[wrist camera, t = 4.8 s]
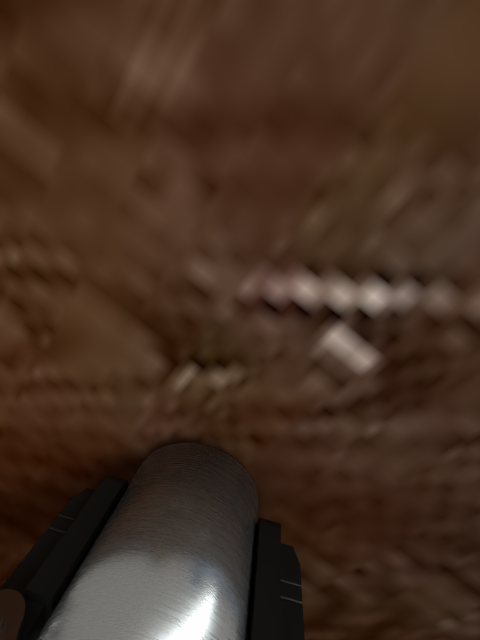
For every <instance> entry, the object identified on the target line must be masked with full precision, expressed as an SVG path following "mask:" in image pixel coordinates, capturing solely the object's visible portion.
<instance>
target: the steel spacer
mask: <svg viewBox="0 0 480 640" xmlns="http://www.w3.org/2000/svg"><path fill="white" fill-rule="evenodd" d="M257 517H258V493H257V490H256V486H255V484H254V482H253V480H252V478H251V477H250V475H249V473H248V472H247V471H246V470H245V469H244V467H243V466H242V465H241V464H240V463H239V462H237V461H236V460H235V459H234V458H232V457H231V456H229V455H228V454H226V453H224V452H223V451H220V450H218V449H216V448H213V447H210V446H207V445H203V444H198V443H176V444H171V445H167V446H164V447H162V448H159V449H157V450H156V451H154V452H152V453H151V454H150V455H149V456H148V457H147V458H146V459H145V460H144V461H143V463H142V464H141V466H140V468H139V469H138V471H137V473H136V474H135V476H134V478H133V479H132V481H131V483H130V484H129V486H128V488H127V489H126V491H125V493H124V494H123V496H122V498H121V499H120V501H119V503H118V504H117V506H116V508H115V509H114V511H113V513H112V514H111V516H110V518H109V519H108V521H107V523H106V524H105V526H104V528H103V529H102V531H101V532H100V534H99V536H98V537H97V539H96V541H95V542H94V544H93V546H92V547H91V549H90V551H89V552H88V554H87V556H86V557H85V559H84V561H83V562H82V564H81V566H80V567H79V569H78V571H77V572H76V574H75V576H74V577H73V579H72V581H71V582H70V584H69V586H68V587H67V589H66V591H65V592H64V594H63V596H62V597H61V599H60V601H59V602H58V604H57V606H56V607H55V609H54V611H53V612H52V614H51V616H50V617H49V619H48V621H47V622H46V624H45V626H44V627H43V629H42V631H41V632H40V634H39V636H38V637H37V639H36V640H247V639H248V627H249V614H250V602H251V590H252V577H253V565H254V552H255V540H256V528H257Z"/></svg>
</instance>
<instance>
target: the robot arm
mask: <svg viewBox="0 0 480 640" xmlns="http://www.w3.org/2000/svg"><path fill="white" fill-rule="evenodd" d="M127 488H128V481H127V480H123V479H119V478H116V477H112V476H106V477H105V478H104V480H103V481H102V482H101V484H100V485H99V487H98V488H97V489H96V490H92V489H89V488H86V489H84V490H83V491H82V492H80V493H79V494H77V495H76V496H75V497H73V498H72V499H71V500H70V501H69V502H68V504H67V505H66V506H65V507H64V509H63V510H62V511H61V512H60V514H59V516H58V517H56V519H55V520H54V521H53V523H52V524H51V525H50V527H49V529H48V530H46V531H45V533H44V534H43V535H42V537H41V538H40V539H39V540H38V542H37V543H36V544H35V545H34V547H33V548H32V549H31V550H30V552H29V553H28V554H27V556H26V557H25V558H24V559H23V561H22V562H21V563H20V564H19V566H18V567H17V568H16V570H15V571H14V572H13V573H12V575H11V576H10V577H9V578H8V580H7V581H6V582H5V583H4V584H3V585H2V586H1V587H0V640H36V639H37V637H38V636H39V634H40V632H41V631H42V629H43V627H44V626H45V624H46V622H47V621H48V619H49V617H50V616H51V614H52V612H53V611H54V609H55V607H56V606H57V604H58V602H59V601H60V599H61V597H62V596H63V594H64V592H65V591H66V589H67V587H68V586H69V584H70V582H71V581H72V579H73V577H74V576H75V574H76V572H77V571H78V569H79V567H80V566H81V564H82V562H83V561H84V559H85V557H86V556H87V554H88V552H89V551H90V549H91V547H92V546H93V544H94V542H95V541H96V539H97V537H98V536H99V534H100V532H101V531H102V529H103V528H104V526H105V524H106V523H107V521H108V519H109V518H110V516H111V514H112V513H113V511H114V509H115V508H116V506H117V504H118V503H119V501H120V499H121V498H122V496H123V494H124V493H125V491H126V489H127ZM247 640H305V639H304V622H303V606H302V589H301V572H300V563H299V561H298V558H297V556H296V553H295V551H294V548H293V547H292V546H289V545H285V544H282V543H281V527H280V524H279V523H276V522H272V521H269V520H265V519H262V518H259V520H258V523H257V528H256V540H255V552H254V565H253V577H252V590H251V602H250V614H249V627H248V639H247Z"/></svg>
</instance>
